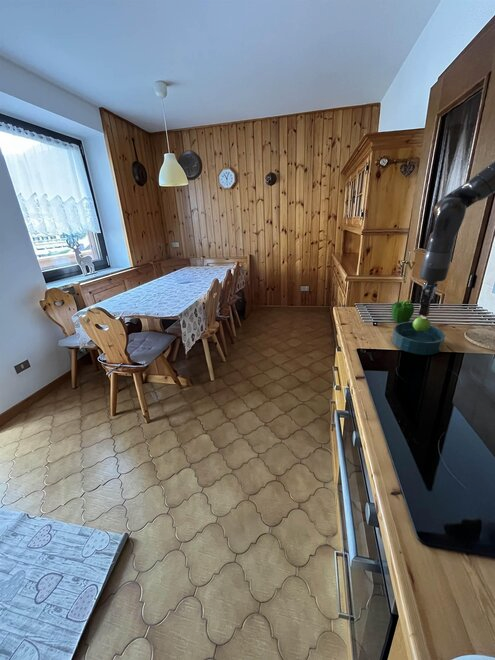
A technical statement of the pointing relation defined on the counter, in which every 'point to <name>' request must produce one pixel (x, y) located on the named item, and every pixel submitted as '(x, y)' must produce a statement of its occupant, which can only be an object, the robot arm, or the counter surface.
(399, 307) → the bell pepper
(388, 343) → the counter surface
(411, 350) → the bowl
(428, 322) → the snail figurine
